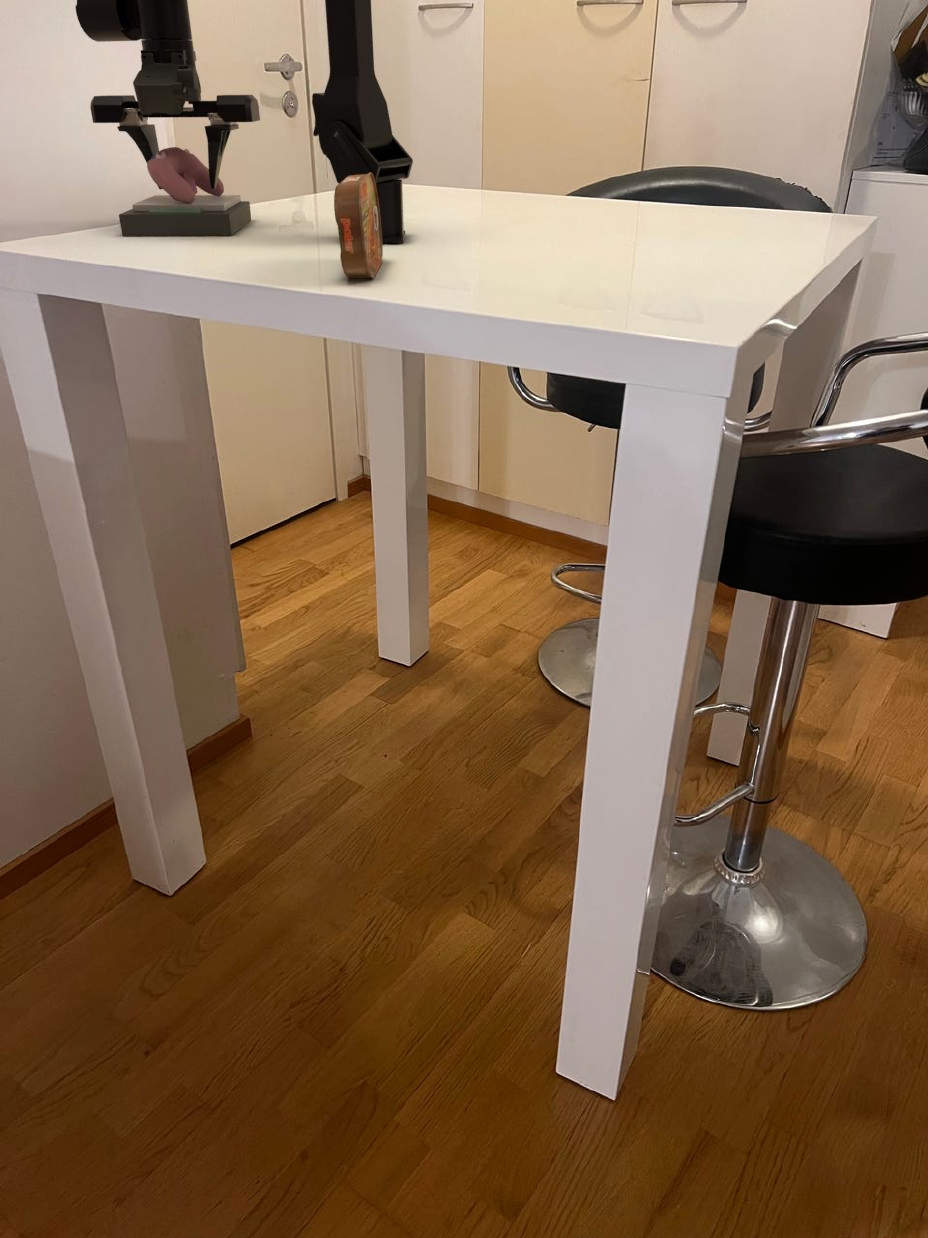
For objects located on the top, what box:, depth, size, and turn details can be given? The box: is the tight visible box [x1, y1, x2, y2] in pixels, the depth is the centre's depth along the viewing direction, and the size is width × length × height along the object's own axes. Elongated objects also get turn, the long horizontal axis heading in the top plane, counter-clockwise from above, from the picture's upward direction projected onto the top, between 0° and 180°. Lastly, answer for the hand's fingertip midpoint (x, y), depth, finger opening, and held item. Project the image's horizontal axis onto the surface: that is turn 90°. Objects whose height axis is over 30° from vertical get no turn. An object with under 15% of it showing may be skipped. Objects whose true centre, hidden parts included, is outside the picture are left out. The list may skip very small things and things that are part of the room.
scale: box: [118, 194, 252, 237], centre depth 116 cm, size 13×13×3 cm
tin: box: [333, 173, 384, 279], centre depth 89 cm, size 15×3×8 cm, turn 179°
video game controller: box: [146, 146, 225, 204], centre depth 115 cm, size 10×5×7 cm, turn 168°
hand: (187, 188), depth 116 cm, fingers closed on video game controller, 6 cm apart
